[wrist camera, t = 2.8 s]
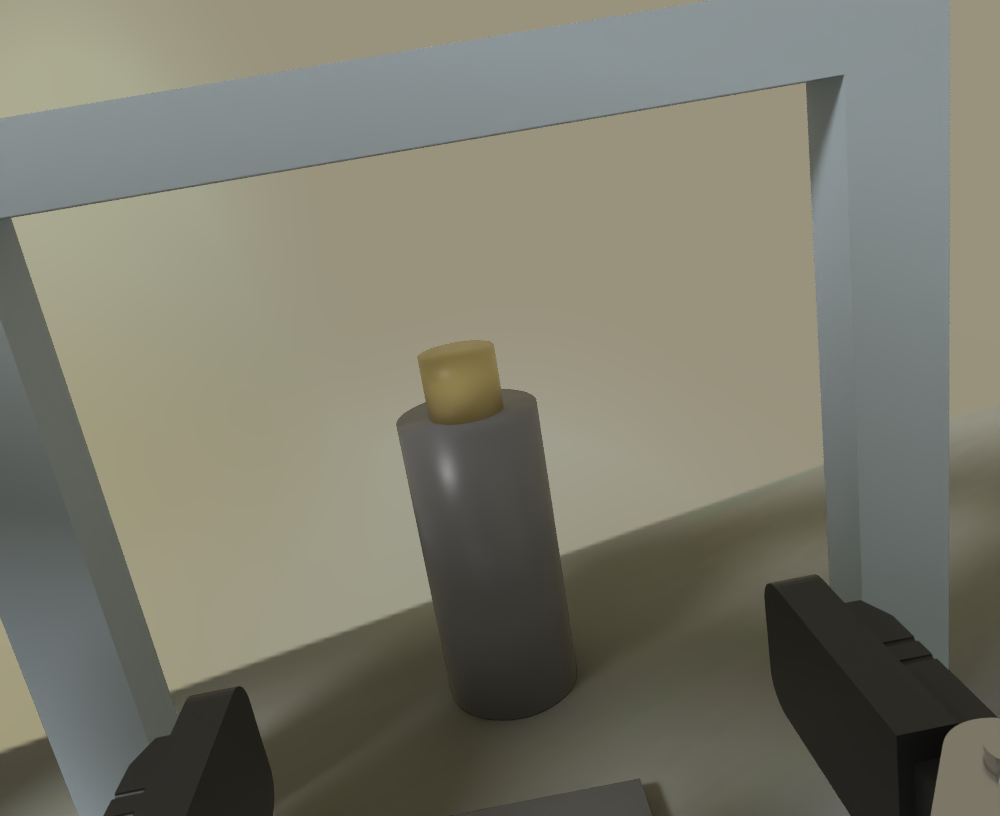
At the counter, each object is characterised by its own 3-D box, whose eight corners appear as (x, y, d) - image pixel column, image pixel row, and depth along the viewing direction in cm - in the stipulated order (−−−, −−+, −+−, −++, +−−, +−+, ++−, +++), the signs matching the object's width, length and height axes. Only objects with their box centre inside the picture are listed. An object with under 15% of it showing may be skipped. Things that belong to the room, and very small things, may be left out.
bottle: (452, 731, 27) (379, 381, 23) (449, 652, 31) (387, 347, 28) (587, 705, 27) (535, 355, 23) (566, 630, 31) (519, 324, 28)
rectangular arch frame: (102, 874, 23) (-184, 149, 17) (126, 820, 25) (-124, 150, 19) (949, 708, 24) (949, -41, 18) (910, 668, 26) (900, -21, 20)
